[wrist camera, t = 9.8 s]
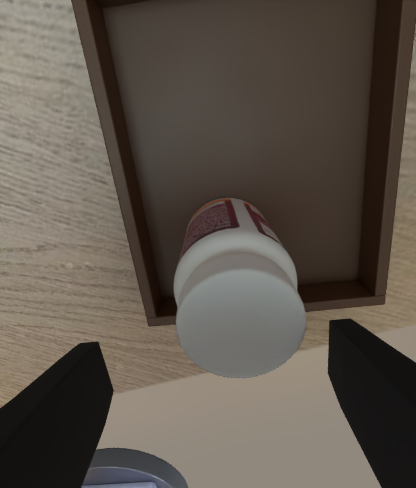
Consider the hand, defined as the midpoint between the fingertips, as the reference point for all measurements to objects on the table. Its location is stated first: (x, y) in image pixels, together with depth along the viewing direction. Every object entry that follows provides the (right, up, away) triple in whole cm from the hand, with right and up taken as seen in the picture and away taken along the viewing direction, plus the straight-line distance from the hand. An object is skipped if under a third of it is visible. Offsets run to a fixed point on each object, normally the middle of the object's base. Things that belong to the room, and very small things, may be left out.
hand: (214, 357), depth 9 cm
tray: (+2, +8, +7) cm, 11 cm away
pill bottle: (+1, +4, +8) cm, 9 cm away
